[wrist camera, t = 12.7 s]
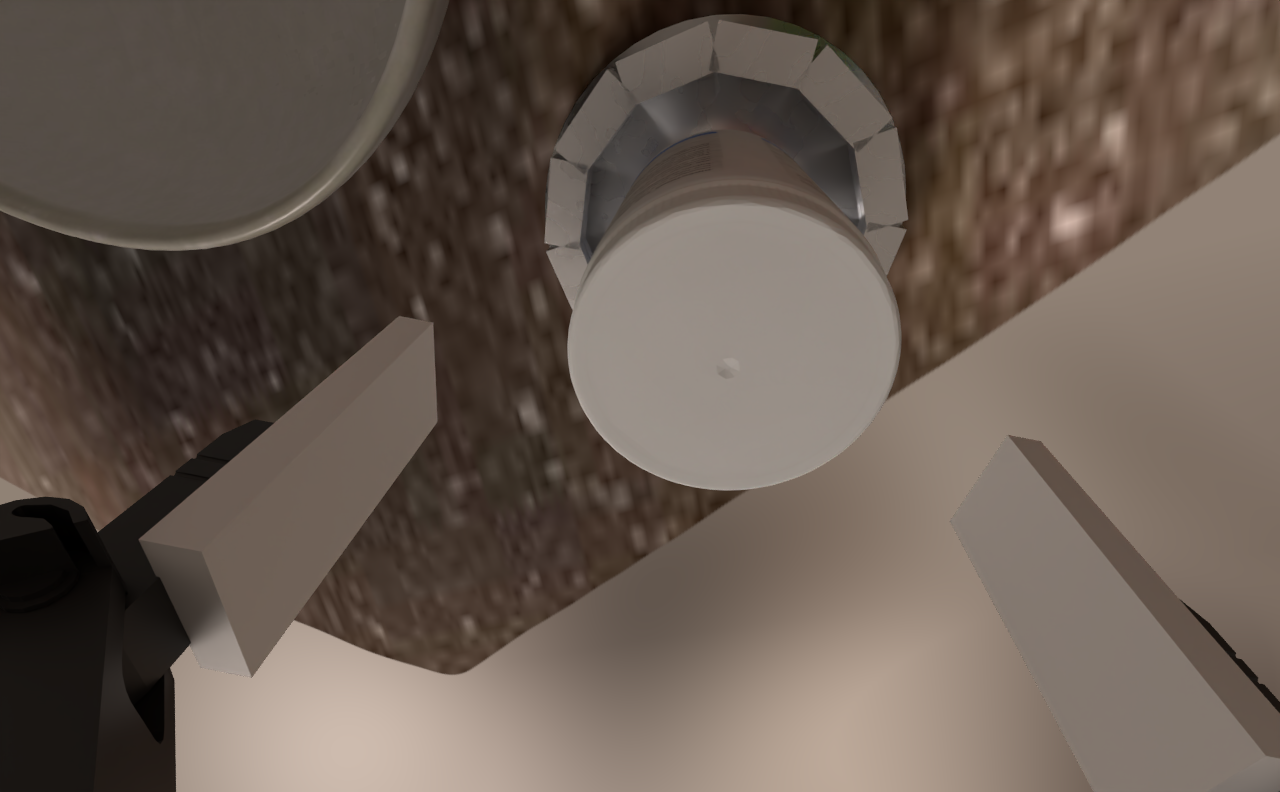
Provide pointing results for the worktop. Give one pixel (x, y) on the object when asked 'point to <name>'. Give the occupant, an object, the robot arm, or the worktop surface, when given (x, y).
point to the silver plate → (724, 127)
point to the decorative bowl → (197, 110)
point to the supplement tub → (732, 320)
